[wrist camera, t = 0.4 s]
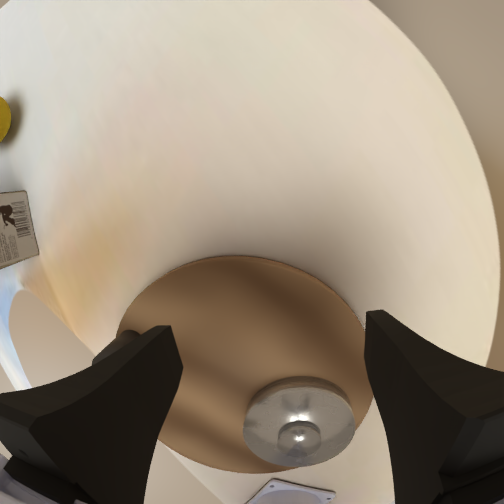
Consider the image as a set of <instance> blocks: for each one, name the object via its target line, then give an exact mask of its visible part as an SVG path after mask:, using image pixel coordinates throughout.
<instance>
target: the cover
mask: <svg viewBox="0 0 504 504" xmlns="http://www.w3.org/2000/svg"><path fill="white" fill-rule="evenodd" d="M354 433H355V419H354V415H353V411H352V407H351V403H350V400H349V398H348V396H347V395H346V393H345V392H344V391H343V390H342V389H341V388H340V387H339V386H337V385H336V384H334V383H332V382H330V381H328V380H325V379H322V378H318V377H312V376H293V377H287V378H282V379H279V380H276V381H274V382H271V383H269V384H267V385H266V386H264V387H263V388H261V389H260V390H259V391H257V392H256V393H255V394H254V396H253V397H252V398H251V400H250V402H249V404H248V406H247V410H246V415H245V420H244V425H243V438H244V441H245V443H246V445H247V446H248V448H249V449H250V450H251V451H252V452H253V453H254V454H255V455H257V456H258V457H260V458H261V459H263V460H265V461H267V462H270V463H273V464H277V465H281V466H288V467H303V466H310V465H315V464H319V463H322V462H324V461H327V460H329V459H331V458H333V457H335V456H336V455H338V454H339V453H340V452H342V451H343V450H344V449H345V448H346V447H347V446H348V444H349V443H350V442H351V440H352V438H353V436H354Z"/></svg>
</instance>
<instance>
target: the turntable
mask: <svg viewBox="0 0 504 504" xmlns="http://www.w3.org/2000/svg"><path fill="white" fill-rule="evenodd" d="M157 325H171V328H172V331H173V334H174V338H175V341H176V344H177V348H178V351H179V354H180V357H181V360H182V364H183V372H182V376H181V380H180V384H179V388H178V390H177V393H176V395H175V398H174V400H173V402H172V405H171V407H170V410H169V412H168V414H167V417H166V419H165V421H164V424H163V426H162V428H161V431H160V433H159V436H158V440H159V441H161V442H162V443H163V444H165V445H166V446H168V447H169V448H171V449H172V450H174V451H176V452H177V453H179V454H181V455H183V456H184V457H187V458H189V459H191V460H193V461H195V462H198V463H200V464H203V465H206V466H209V467H213V468H216V469H220V470H225V471H231V472H237V473H251V474H258V473H273V472H281V471H286V470H290V469H295V468H298V467H288V466H281V465H277V464H273V463H270V462H267V461H265V460H263V459H261V458H260V457H258V456H257V455H255V454H254V453H253V452H252V451H251V450H250V449H249V448H248V446H247V445H246V443H245V441H244V438H243V425H244V420H245V415H246V410H247V406H248V404H249V402H250V400H251V398H252V397H253V396H254V394H255V393H256V392H257V391H259V390H260V389H261V388H263V387H264V386H266V385H267V384H269V383H271V382H274V381H276V380H279V379H282V378H287V377H293V376H312V377H318V378H322V379H325V380H328V381H330V382H332V383H334V384H336V385H337V386H339V387H340V388H341V389H342V390H343V391H344V392H345V393H346V395H347V396H348V398H349V400H350V403H351V407H352V411H353V415H354V419H355V430H356V429H357V428H358V427H359V425H360V424H361V423H362V421H363V419H364V417H365V416H366V414H367V412H368V410H369V407H370V405H371V402H372V399H373V392H372V389H371V386H370V383H369V380H368V376H367V371H366V366H365V361H364V345H365V331H364V329H363V328H362V326H361V324H360V322H359V320H358V318H357V317H356V315H355V314H354V313H353V311H352V310H351V309H350V307H349V306H348V305H347V303H346V302H345V301H344V300H343V299H342V298H341V297H340V296H339V295H337V294H336V293H335V292H334V291H333V290H332V289H331V288H329V287H328V286H326V285H325V284H324V283H322V282H321V281H320V280H318V279H316V278H315V277H313V276H311V275H309V274H307V273H305V272H303V271H302V270H299V269H297V268H294V267H291V266H289V265H286V264H284V263H280V262H276V261H272V260H268V259H264V258H256V257H247V256H221V257H214V258H207V259H202V260H199V261H195V262H192V263H188V264H185V265H183V266H181V267H179V268H177V269H174V270H172V271H170V272H168V273H167V274H165V275H164V276H162V277H161V278H159V279H158V280H156V281H155V282H154V283H152V284H151V285H150V286H148V287H147V288H146V289H145V290H144V291H143V292H142V293H141V294H139V295H138V296H137V297H136V299H135V300H134V301H133V302H132V304H131V305H130V306H129V308H128V309H127V311H126V313H125V314H124V316H123V318H122V320H121V322H120V325H119V328H118V331H117V334H116V338H115V339H114V340H113V341H112V342H111V343H110V344H109V345H108V346H107V347H105V348H104V349H103V350H102V351H101V352H100V353H99V354H98V355H97V356H96V357H95V358H94V359H93V361H92V365H94V364H96V363H97V362H99V361H101V360H102V359H104V358H106V357H107V356H109V355H111V354H112V353H114V352H116V351H117V350H119V349H120V348H122V347H123V346H125V345H126V344H128V343H129V342H131V341H132V340H134V339H135V338H137V337H138V336H140V335H141V334H143V333H144V332H146V331H148V330H149V329H151V328H153V327H155V326H157Z"/></svg>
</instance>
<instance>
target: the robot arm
mask: <svg viewBox="0 0 504 504" xmlns="http://www.w3.org/2000/svg"><path fill="white" fill-rule="evenodd" d="M364 361H365V366H366V371H367V376H368V380H369V383H370V386H371V389H372V392H373V395H374V397H375V400H376V403H377V406H378V409H379V412H380V415H381V418H382V421H383V424H384V428H385V432H386V435H387V441H388V446H389V452H390V459H391V466H392V473H393V482H394V493H395V504H504V372H501V371H497V370H493V369H490V368H486V367H483V366H480V365H477V364H475V363H472V362H469V361H466V360H464V359H462V358H459V357H457V356H455V355H453V354H451V353H449V352H447V351H445V350H443V349H441V348H439V347H437V346H436V345H434V344H432V343H431V342H429V341H427V340H426V339H424V338H423V337H421V336H419V335H418V334H416V333H415V332H414V331H412V330H411V329H409V328H408V327H406V326H405V325H404V324H402V323H401V322H400V321H398V320H397V319H395V318H394V317H393V316H391V315H390V314H389V313H387V312H386V311H384V310H374V311H367V312H366V329H365V345H364ZM182 372H183V364H182V360H181V357H180V354H179V351H178V348H177V344H176V341H175V338H174V334H173V331H172V328H171V325H157V326H155V327H153V328H151V329H149V330H148V331H146V332H144V333H143V334H141V335H140V336H138V337H137V338H135V339H134V340H132V341H131V342H129V343H128V344H126V345H125V346H123V347H122V348H120V349H119V350H117V351H116V352H114V353H112V354H111V355H109V356H107V357H106V358H104V359H102V360H101V361H99V362H97V363H96V364H94V365H92V366H90V367H88V368H86V369H84V370H83V371H80V372H78V373H76V374H73V375H71V376H68V377H66V378H63V379H61V380H58V381H55V382H52V383H50V384H46V385H43V386H39V387H35V388H31V389H26V390H20V391H14V392H7V393H1V394H0V441H1V442H2V444H3V445H4V446H5V447H6V449H7V450H8V451H9V452H10V453H11V454H12V457H11V458H10V460H8V459H7V458H6V457H5V456H3V455H2V454H0V504H144V496H145V490H146V484H147V479H148V474H149V469H150V464H151V461H152V457H153V453H154V449H155V445H156V442H157V439H158V436H159V433H160V431H161V428H162V426H163V424H164V421H165V419H166V417H167V414H168V412H169V410H170V407H171V405H172V402H173V400H174V398H175V395H176V393H177V390H178V388H179V384H180V380H181V376H182ZM335 497H336V493H334V492H329V491H323V490H318V489H313V488H309V487H304V486H300V485H295V484H291V483H287V482H283V481H280V480H275V479H273V480H271V481H269V482H268V483H267V484H266V485H265V486H264V487H263V488H262V489H261V490H260V491H259V492H258V493H257V494H256V495H255V496H254V497H253V498H252V499H251V500H250V501H249V502H248V503H247V504H327V503H328V502H330V501H331V500H332V499H333V498H335Z"/></svg>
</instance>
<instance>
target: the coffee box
mask: <svg viewBox="0 0 504 504" xmlns="http://www.w3.org/2000/svg"><path fill="white" fill-rule="evenodd" d="M38 254H39V251H38V247H37V243H36V239H35V235H34V230H33V226H32V221H31V216H30V210H29V205H28V199H27V193H26V191H15V192H4V193H0V269H2V268H5V267H7V266H10V265H12V264H15V263H18V262H20V261H23V260H25V259H28V258H31V257H33V256H36V255H38Z"/></svg>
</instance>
